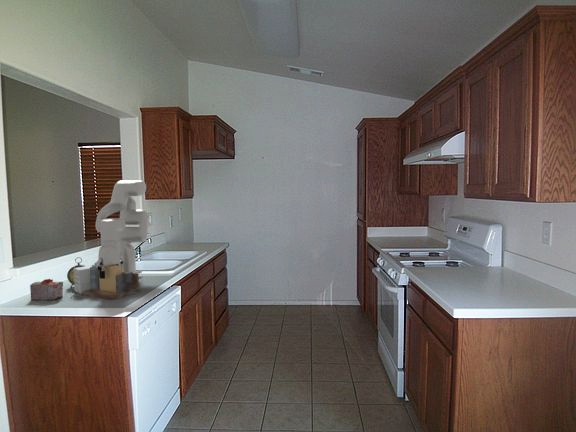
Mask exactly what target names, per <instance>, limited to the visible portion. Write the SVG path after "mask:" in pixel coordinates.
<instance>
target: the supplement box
mask: <svg viewBox="0 0 576 432" xmlns="http://www.w3.org/2000/svg"><path fill="white" fill-rule="evenodd" d="M84 266H85V267H79V268H74V282H75V285H74V292H76V293H78V294H82V295H83V293H82V292H84V291H87V290H91V280H90V267H91V266H90V265H84Z"/></svg>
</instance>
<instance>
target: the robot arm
mask: <svg viewBox="0 0 576 432" xmlns="http://www.w3.org/2000/svg"><path fill="white" fill-rule="evenodd" d="M146 191H147V184H146V182H145V181H144V180H126V179H125V180H118V181H117V182H116V183H115V184H114V186H113V190H112V194H111V197H110V198H111V199H110V202H108V203H107V204H106V205H104V206H103V207H102V208H101V209H100V210H99V211H98V213H97V216H96V220H95V230H96V231H97V232H99V233H100V247H99V249H98V257H97V258H98V260H97V261H95V262H94V263H93V265H95V267H96V268H97V269H98V271H99V276H100V278H101V279H105V271H104V269H105V267H107V266H112V265H120V266H122V272H128V273H129V272H133V273H137V274H138V278H140V276H139V275H140V274H142V273H143V271H142V270H141V269H140V270H137V269H136V268H137V267H136V265H137V264H136V249H135V247H134V246H133V243H134V244H137V243H138V244H139V243H145V242H146V241H147V239H148V227H149V215H148V212H147V211H146V210H144V209H137V202H136V200H135V199H134V198H133V197H140V196H143V195H144V194H146ZM118 212H119V217H109V216H111V215H114V214H115V213H118ZM107 217H108V218H107Z"/></svg>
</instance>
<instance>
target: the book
mask: <svg viewBox="0 0 576 432" xmlns="http://www.w3.org/2000/svg"><path fill="white" fill-rule="evenodd" d="M104 271H105V279H101V278H100V276H99V285H100V290H104V291H110V292H116V276H117V275H121V274H122V266H120V265H112V266H107V267H105V269H104Z"/></svg>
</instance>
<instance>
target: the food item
mask: <svg viewBox="0 0 576 432" xmlns="http://www.w3.org/2000/svg"><path fill="white" fill-rule="evenodd" d="M63 286H64V282H63V281H54V279H51V278H47V279H43V280H42V281H35V282H33V283H30V285H29V287H30V288H29V289H30V301H43V302H44V301H48V300H49V301H53V300H54V301H55V300H58V299H60V298H63V295H64V294H63V293H64V292H63V291H64V290H63Z"/></svg>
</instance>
